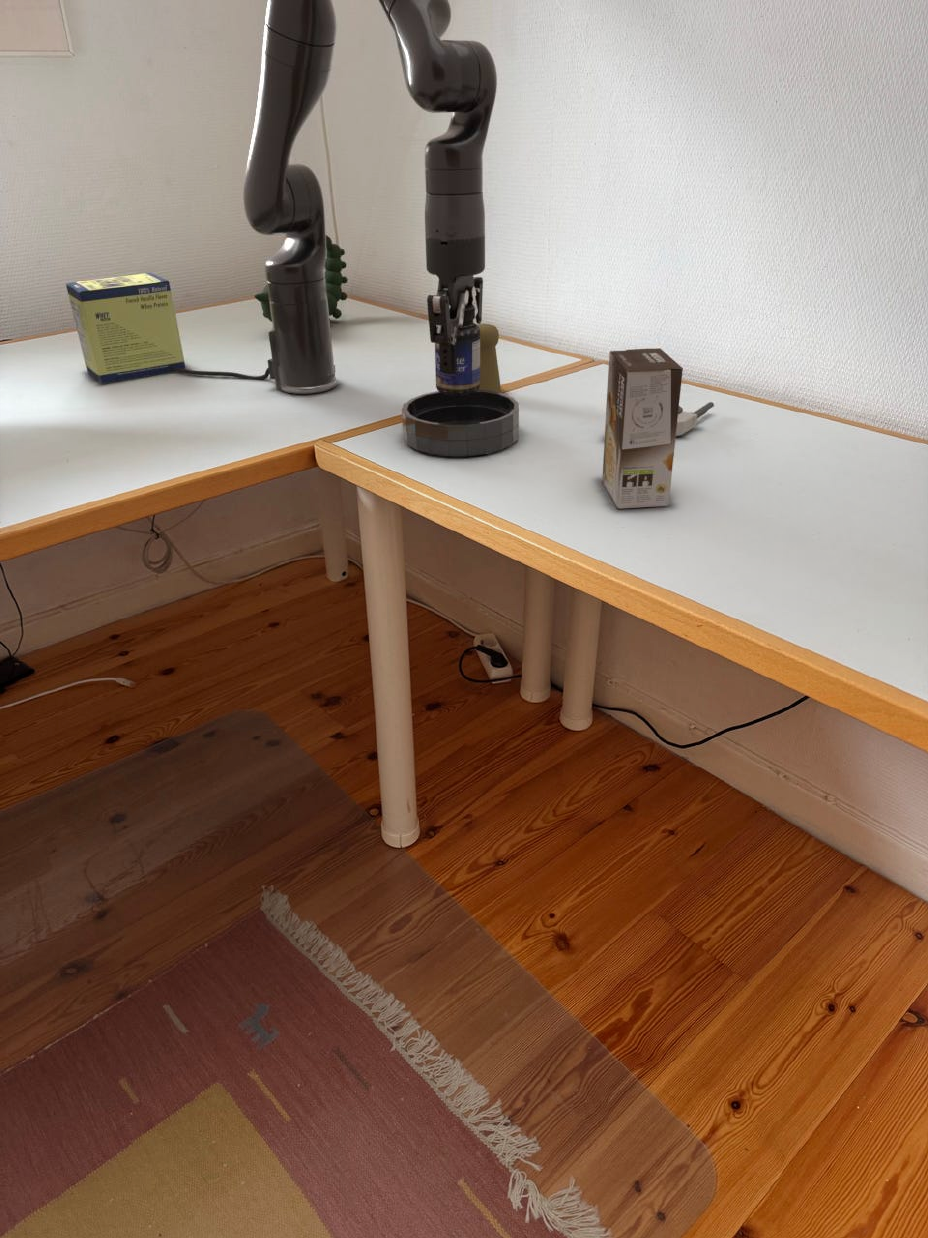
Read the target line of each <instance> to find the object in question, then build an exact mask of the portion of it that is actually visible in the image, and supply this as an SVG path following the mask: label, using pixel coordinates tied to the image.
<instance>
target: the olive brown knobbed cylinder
mask: <svg viewBox="0 0 928 1238" xmlns="http://www.w3.org/2000/svg"><path fill="white" fill-rule="evenodd" d="M477 326H478V327H479V329H480V388H479V389H478V390H488V391H493V392H498V393H502V386H501V378H500V371H499V370H500V369H499V364H498V363H499V362H498V355H497V349H496V346H497V345H498V343H499V339H500V338H499V337H500V333H499V330H498V328H497V327H496V326H495V325H493V324H490V323H480V324H477Z"/></svg>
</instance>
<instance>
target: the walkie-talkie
mask: <svg viewBox="0 0 928 1238" xmlns="http://www.w3.org/2000/svg"><path fill="white" fill-rule="evenodd" d="M714 407H715V404H714V402H712V401H709V402H707V403H706V404H705V405H703V406H701V407H700V408H698V409H697V410H695V411H693V412H687V411H684V409H683V407H681V406H680V405H679V410H678V419H677V429H676V437H678V436H683V435H685V434H686V433H687V432H689V431H690V430H693V429H694V428H696V426H697V420H698V419H699V418H701V417H702V416H703V415H705V414H707V412H708V411H709V410H711V409H712V408H714Z"/></svg>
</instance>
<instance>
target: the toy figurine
mask: <svg viewBox="0 0 928 1238" xmlns="http://www.w3.org/2000/svg"><path fill="white" fill-rule="evenodd" d="M332 241H333V240H332V239H331V237H330V236H328V235H327V234H326V251H327V252H326V261H325V266H324V274H325V283H326V293H327V302H328V311H329V321H330V325H331V324H332V320H331V318H330V317H331V316H332V317H333V318H334V319H336V320H337V319H340V318H341V317H342V310H340V309H339V308H338V302H340V300H341V301H347V299H348V294H347V292H345V291H343V289H342V285H343V284H344V285H345V284H347V283H348V277H347V276H343V274H342V271H343V269H344V270H345V268H347V262H346V261H344V260H343V261H342V257H343V256H345V254H346V250H345V249H344V248H341V247H340V246H339V245H338V244H336V243H333V242H332ZM254 298H255V299H256V300H257V301H259V302H260V306H261V307H260V308H261V310H262V316H263V317H264V318H266V319H267V320H269V322H271V323H272V317H271V310H270V303H269V296H268V289H267V284H266V285H265V286H264V288H263V289H262V291H261V292H260V293H257V294H254Z"/></svg>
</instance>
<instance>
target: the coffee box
mask: <svg viewBox="0 0 928 1238" xmlns="http://www.w3.org/2000/svg"><path fill="white" fill-rule="evenodd" d="M608 354H609V355H608V372H607V388H606V389H607V390H606V409H605V427H604V428H605V429H604V443H603V444H604V445H603V459H602V460H603V463H602V478H601V481H602V484H603V485H604V488H605V489H606V491H607V492H608V494H609V496H610V498H611V500H612V501H613V503H614V505H615V507H616V508H617V509H621V510H622V509H633V508H634V509H636V508H637V509H638V508H650V507H653V508H654V507H667V506H668V505H669V502H670V501H669V500H670V493H671V487H672V486H671V485H672V476H673V475H672V474H673V465H674V456H675V448H676V447H675V446H676V438H677V436H676V429H677V419H678V410H679V406H680V399H681V390H682V381H683V380H682V379H683V372H684V371H683V370H684V368H683V367H682V366H681V365H680V364H679V363H678V362H677V361H676V360H674V359H673V358H672V357H671V356H669V354H667V353H666V351H664V350H663V349H662V348H660V347H659V348H635V349H634V348H633V349H625V350H610V351H609V353H608Z"/></svg>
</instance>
